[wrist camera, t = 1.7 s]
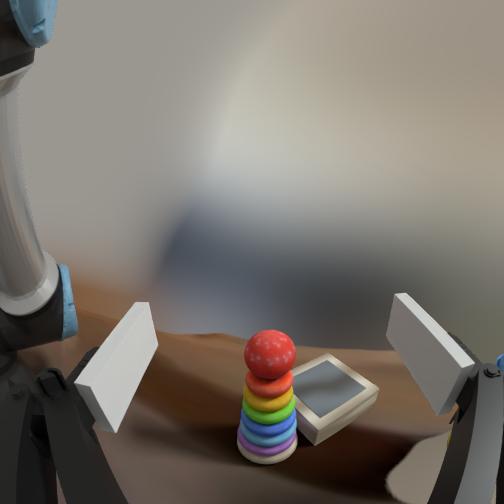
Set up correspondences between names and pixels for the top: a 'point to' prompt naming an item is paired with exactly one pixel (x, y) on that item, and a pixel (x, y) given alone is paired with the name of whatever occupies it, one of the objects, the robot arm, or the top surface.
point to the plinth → (329, 397)
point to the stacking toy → (268, 399)
